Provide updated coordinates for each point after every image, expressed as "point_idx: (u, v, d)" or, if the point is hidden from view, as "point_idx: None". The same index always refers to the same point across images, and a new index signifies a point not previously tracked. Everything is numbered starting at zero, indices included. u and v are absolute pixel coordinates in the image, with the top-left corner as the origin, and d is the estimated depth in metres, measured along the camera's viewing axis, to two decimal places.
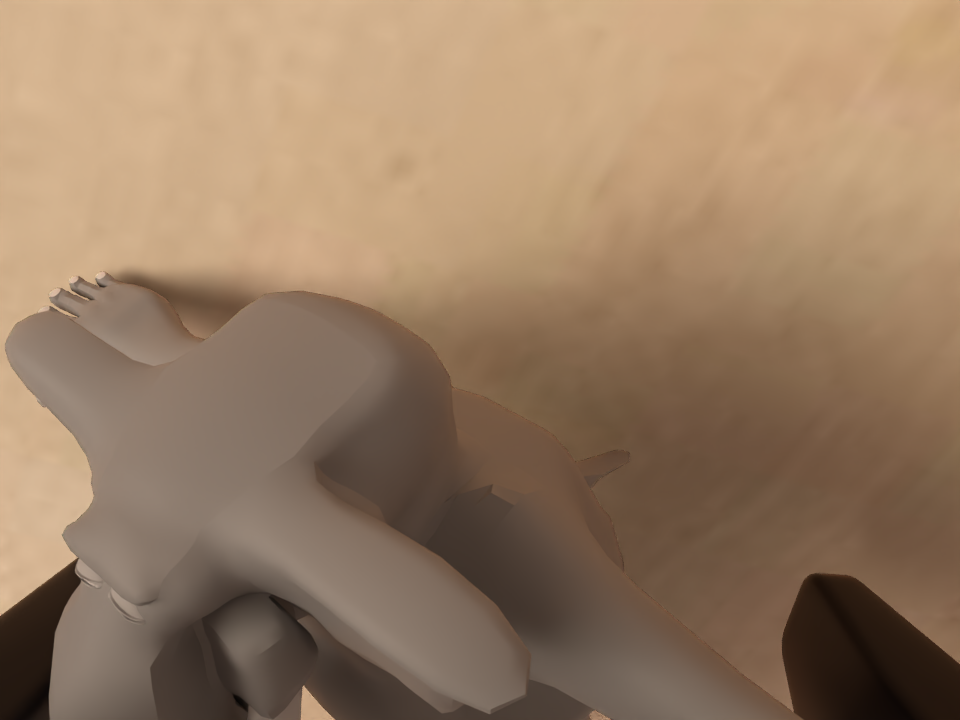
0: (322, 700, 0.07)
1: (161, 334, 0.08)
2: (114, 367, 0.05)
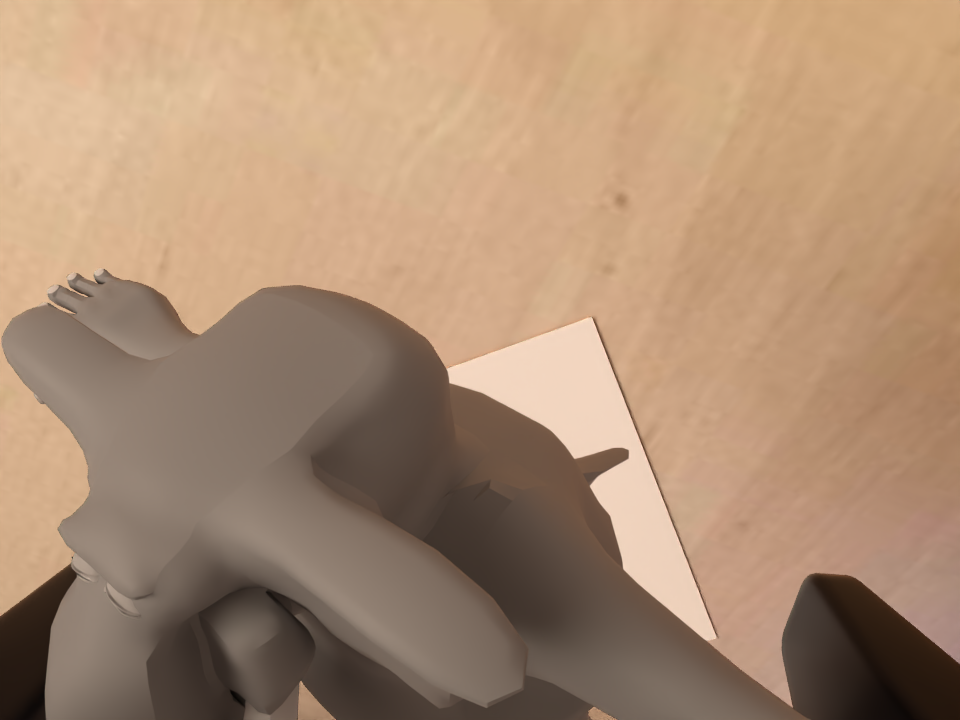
0: (320, 697, 0.07)
1: (159, 331, 0.08)
2: (110, 362, 0.05)
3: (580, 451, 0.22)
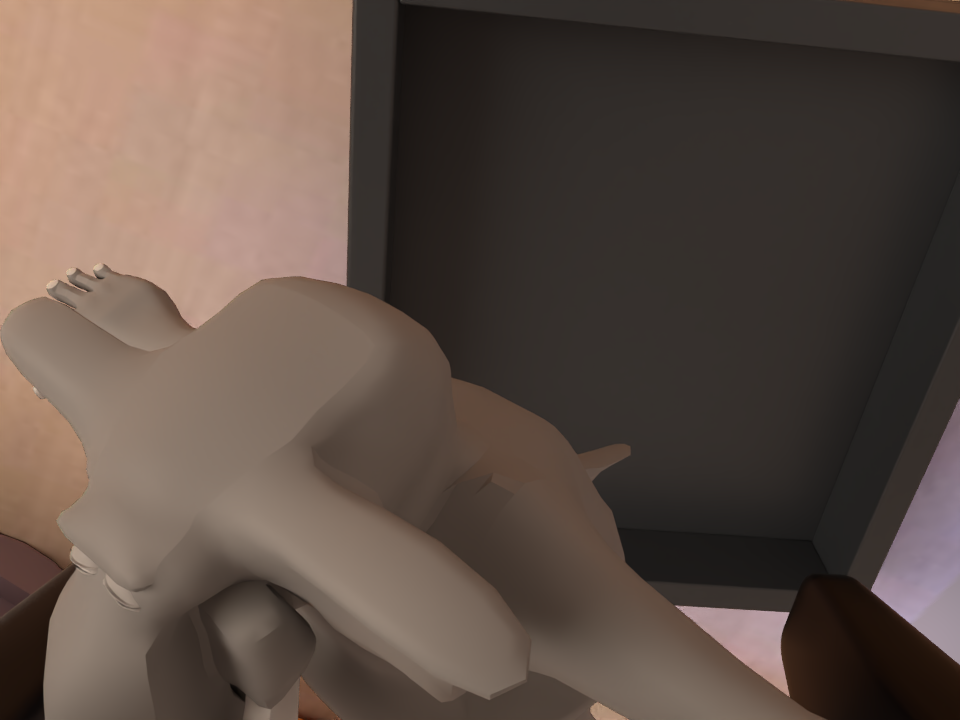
0: (321, 693, 0.07)
1: (159, 325, 0.08)
2: (110, 353, 0.05)
3: None
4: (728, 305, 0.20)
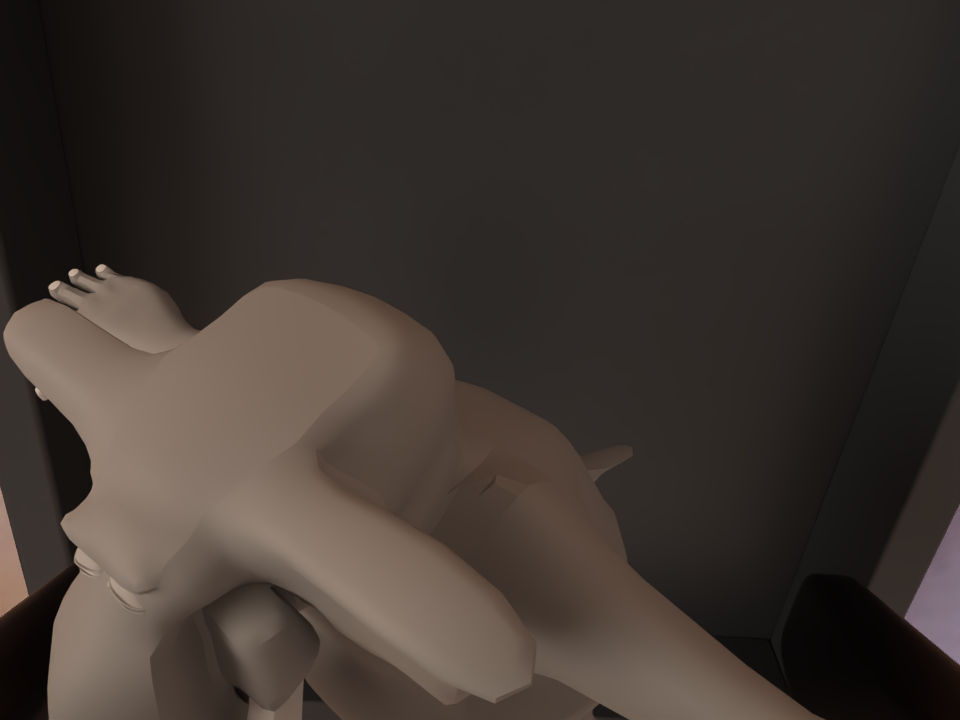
0: (324, 695, 0.07)
1: (161, 327, 0.08)
2: (113, 356, 0.05)
3: None
4: (619, 301, 0.12)
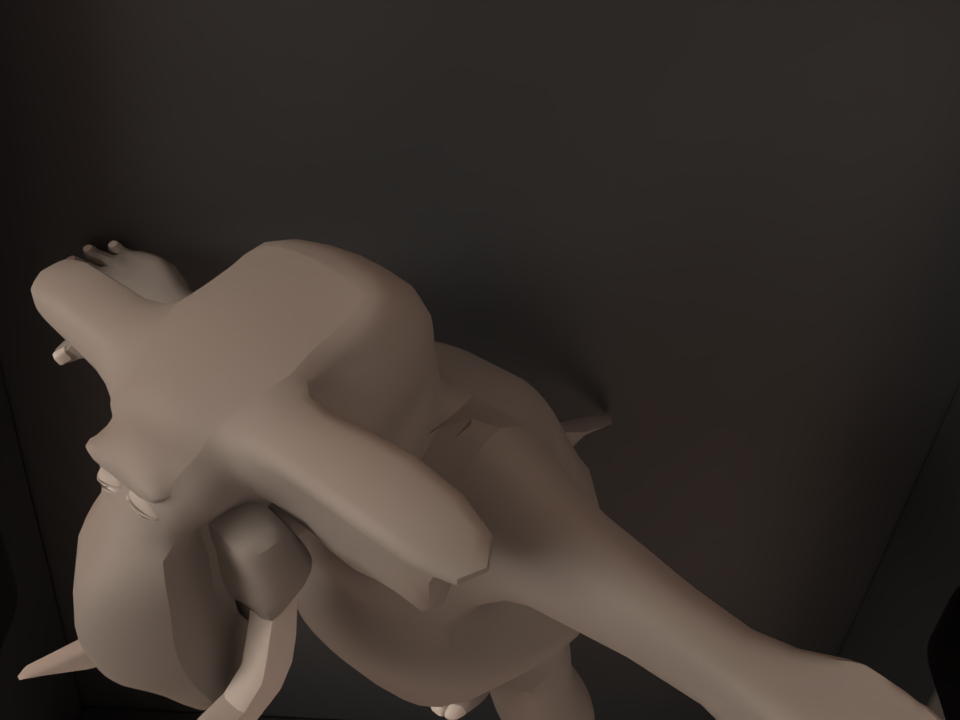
0: (318, 628, 0.07)
1: (169, 296, 0.09)
2: (130, 305, 0.05)
3: None
4: (631, 381, 0.11)
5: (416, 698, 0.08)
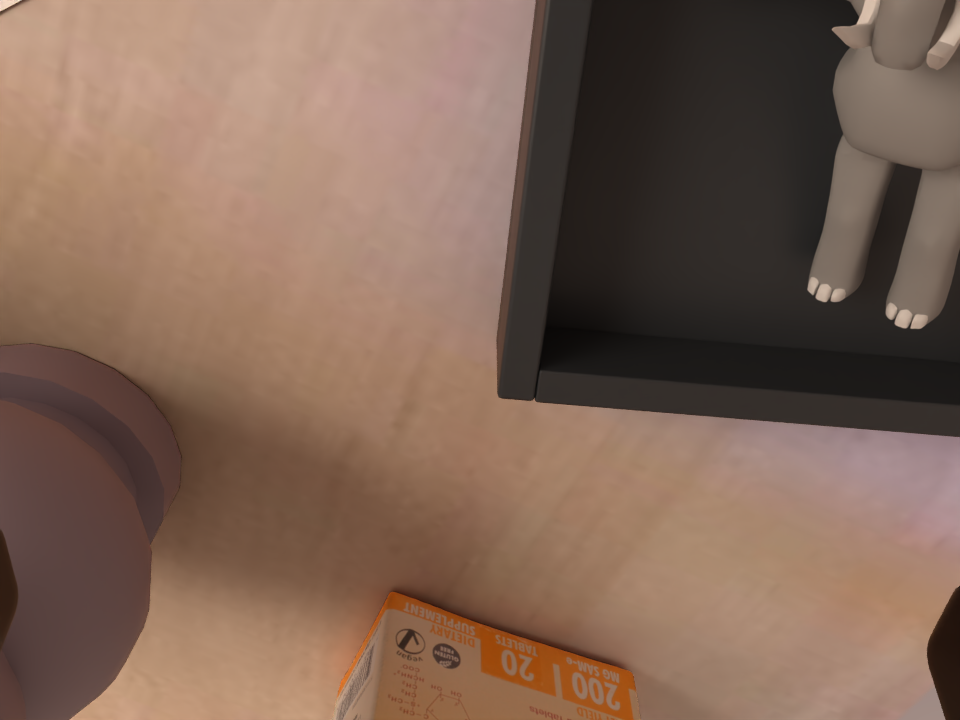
0: (897, 92, 0.13)
1: None
2: None
3: None
4: None
5: (946, 143, 0.13)
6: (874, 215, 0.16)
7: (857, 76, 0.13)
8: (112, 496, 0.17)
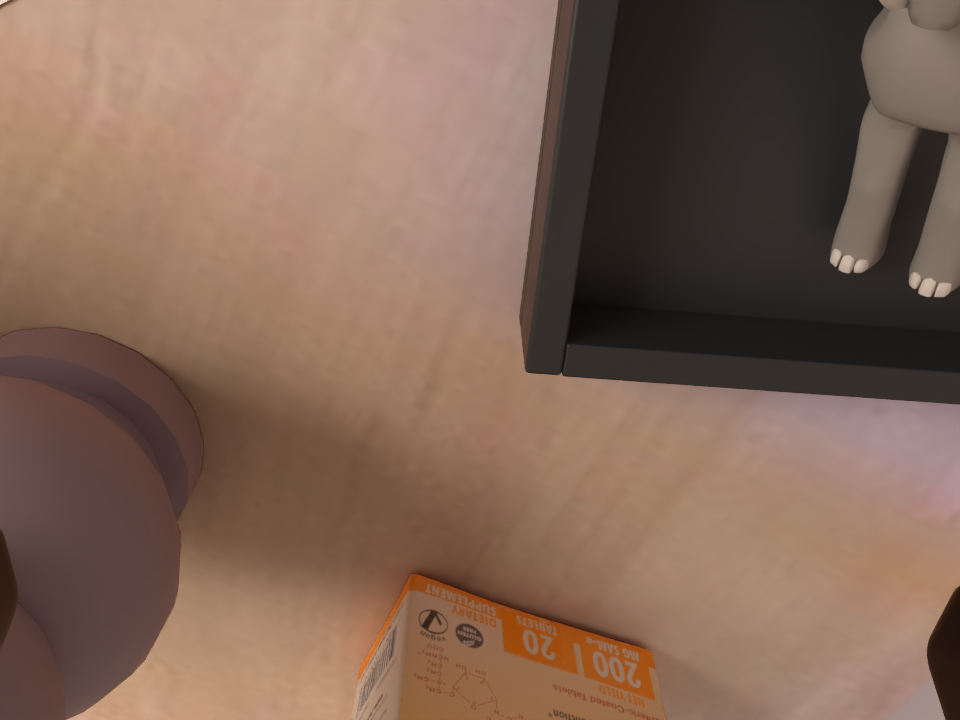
0: (929, 56, 0.13)
1: None
2: None
3: None
4: None
5: None
6: (899, 184, 0.16)
7: (888, 42, 0.13)
8: (143, 475, 0.17)
